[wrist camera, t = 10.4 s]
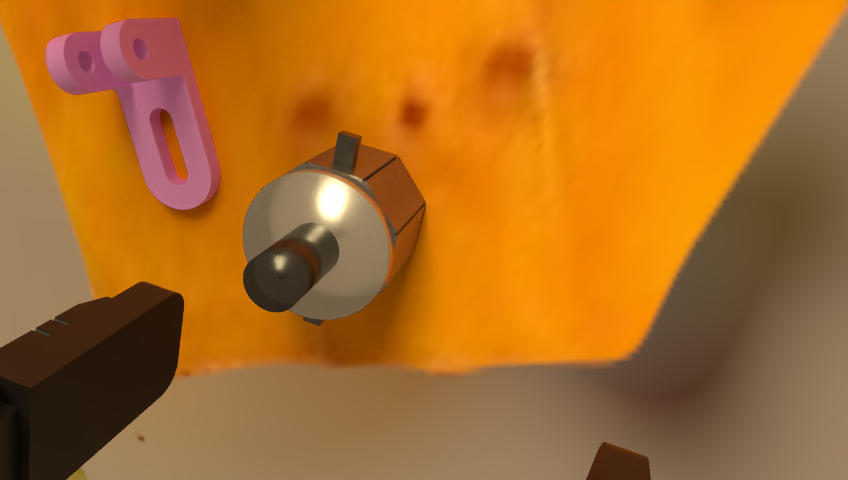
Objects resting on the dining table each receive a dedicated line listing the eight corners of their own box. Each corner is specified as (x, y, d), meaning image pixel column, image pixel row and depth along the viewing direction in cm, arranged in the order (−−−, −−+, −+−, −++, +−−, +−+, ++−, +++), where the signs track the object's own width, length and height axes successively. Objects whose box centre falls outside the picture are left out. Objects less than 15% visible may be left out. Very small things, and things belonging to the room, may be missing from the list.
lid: (261, 150, 40) (199, 176, 34) (408, 191, 39) (371, 226, 32) (244, 287, 43) (184, 333, 37) (378, 329, 42) (340, 385, 36)
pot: (316, 102, 46) (269, 117, 39) (442, 139, 44) (415, 161, 38) (286, 270, 50) (241, 308, 44) (400, 307, 49) (370, 352, 43)
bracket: (112, 34, 48) (37, 37, 42) (179, 17, 46) (111, 19, 40) (166, 209, 51) (104, 237, 45) (230, 199, 50) (175, 227, 43)
